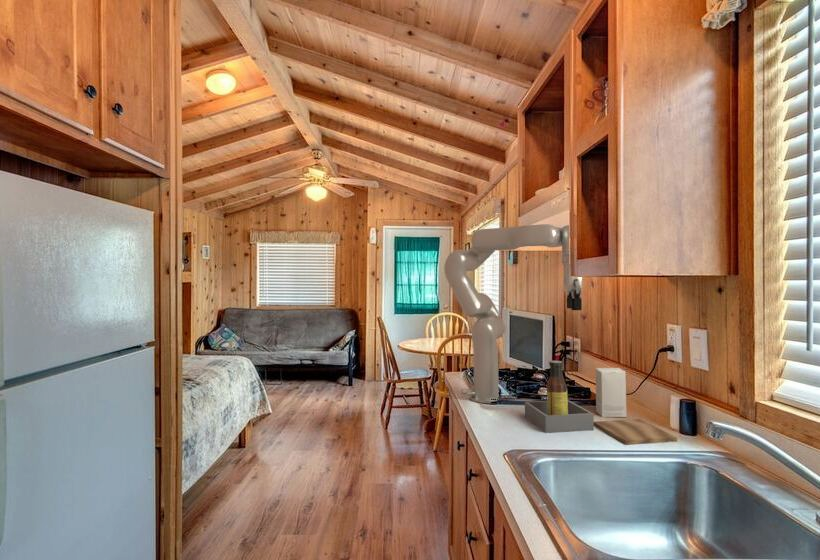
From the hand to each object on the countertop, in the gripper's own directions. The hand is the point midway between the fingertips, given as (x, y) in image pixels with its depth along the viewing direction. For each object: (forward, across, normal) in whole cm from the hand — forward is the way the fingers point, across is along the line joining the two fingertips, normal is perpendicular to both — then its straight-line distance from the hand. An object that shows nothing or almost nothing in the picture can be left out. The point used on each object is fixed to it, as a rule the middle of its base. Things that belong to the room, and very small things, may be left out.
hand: (573, 309), depth 149 cm
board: (+36, +18, +14) cm, 43 cm away
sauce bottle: (+36, +13, -8) cm, 39 cm away
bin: (+36, +13, -8) cm, 39 cm away
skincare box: (+36, +1, +12) cm, 38 cm away
